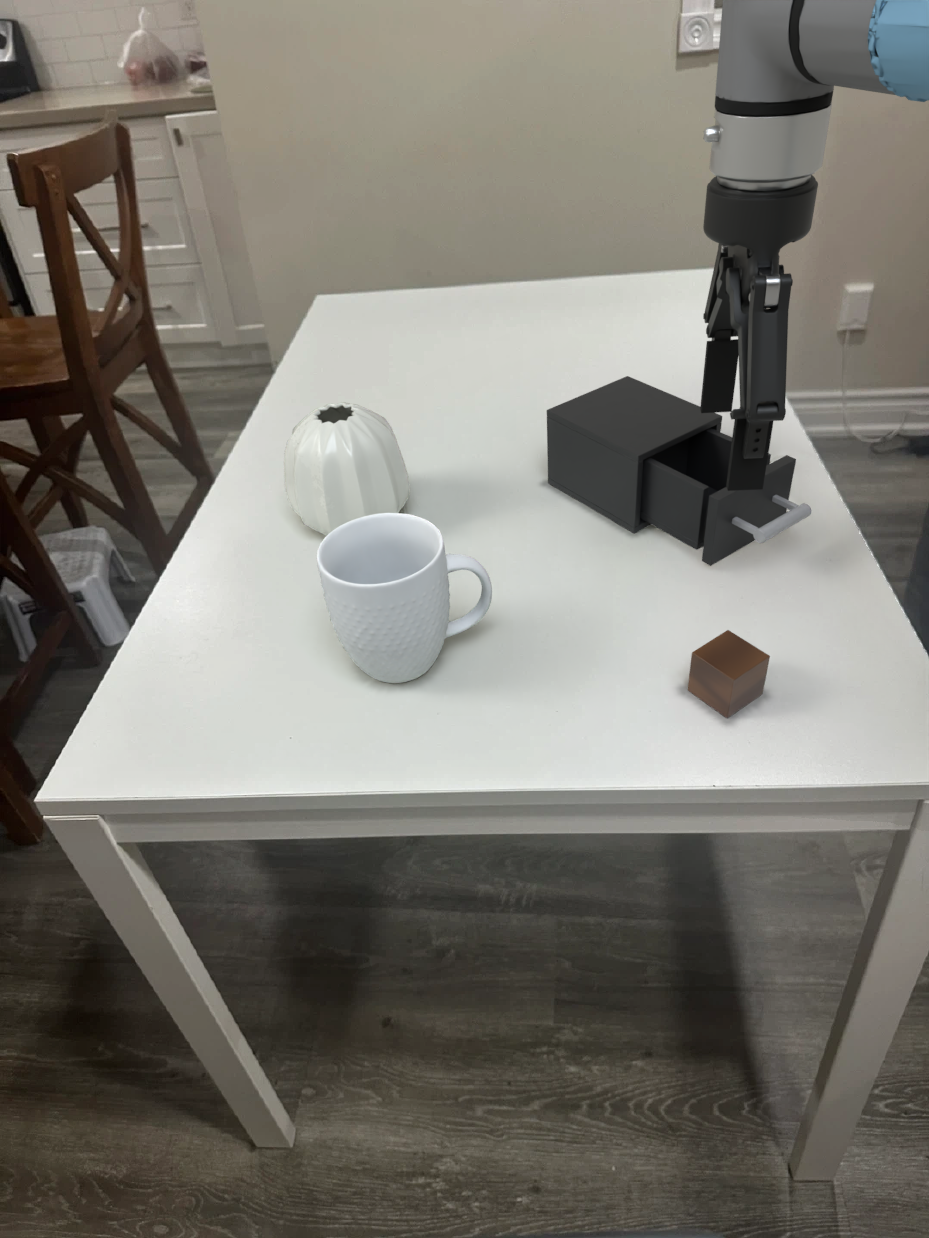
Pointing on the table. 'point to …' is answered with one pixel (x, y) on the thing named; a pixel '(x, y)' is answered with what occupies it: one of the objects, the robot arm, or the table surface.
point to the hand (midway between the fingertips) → (728, 447)
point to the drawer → (715, 497)
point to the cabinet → (616, 444)
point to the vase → (343, 467)
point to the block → (728, 673)
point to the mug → (393, 593)
